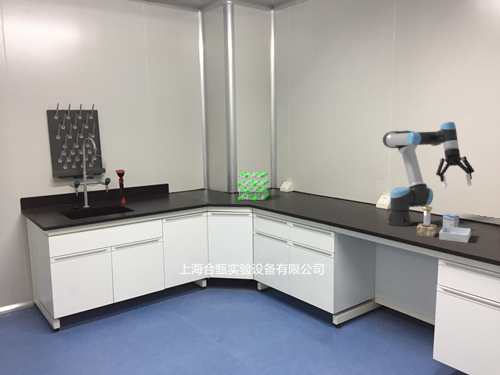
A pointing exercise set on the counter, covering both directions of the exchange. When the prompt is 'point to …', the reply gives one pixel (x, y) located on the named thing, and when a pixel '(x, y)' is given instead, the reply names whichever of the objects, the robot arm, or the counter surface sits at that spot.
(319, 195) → the counter surface
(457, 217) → the medicine box
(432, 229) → the holder block
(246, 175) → the molecular structure model
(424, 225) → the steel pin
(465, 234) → the tray
